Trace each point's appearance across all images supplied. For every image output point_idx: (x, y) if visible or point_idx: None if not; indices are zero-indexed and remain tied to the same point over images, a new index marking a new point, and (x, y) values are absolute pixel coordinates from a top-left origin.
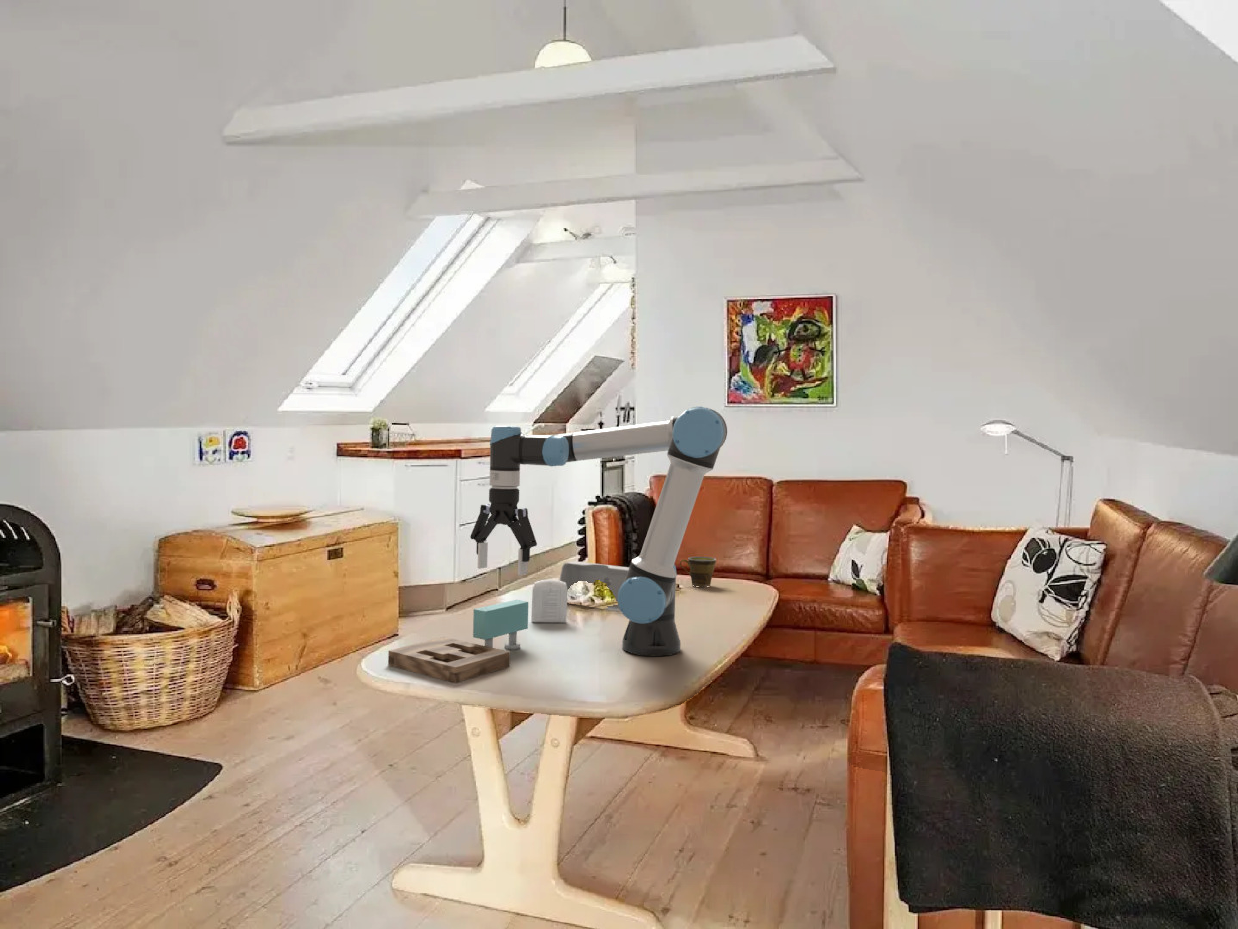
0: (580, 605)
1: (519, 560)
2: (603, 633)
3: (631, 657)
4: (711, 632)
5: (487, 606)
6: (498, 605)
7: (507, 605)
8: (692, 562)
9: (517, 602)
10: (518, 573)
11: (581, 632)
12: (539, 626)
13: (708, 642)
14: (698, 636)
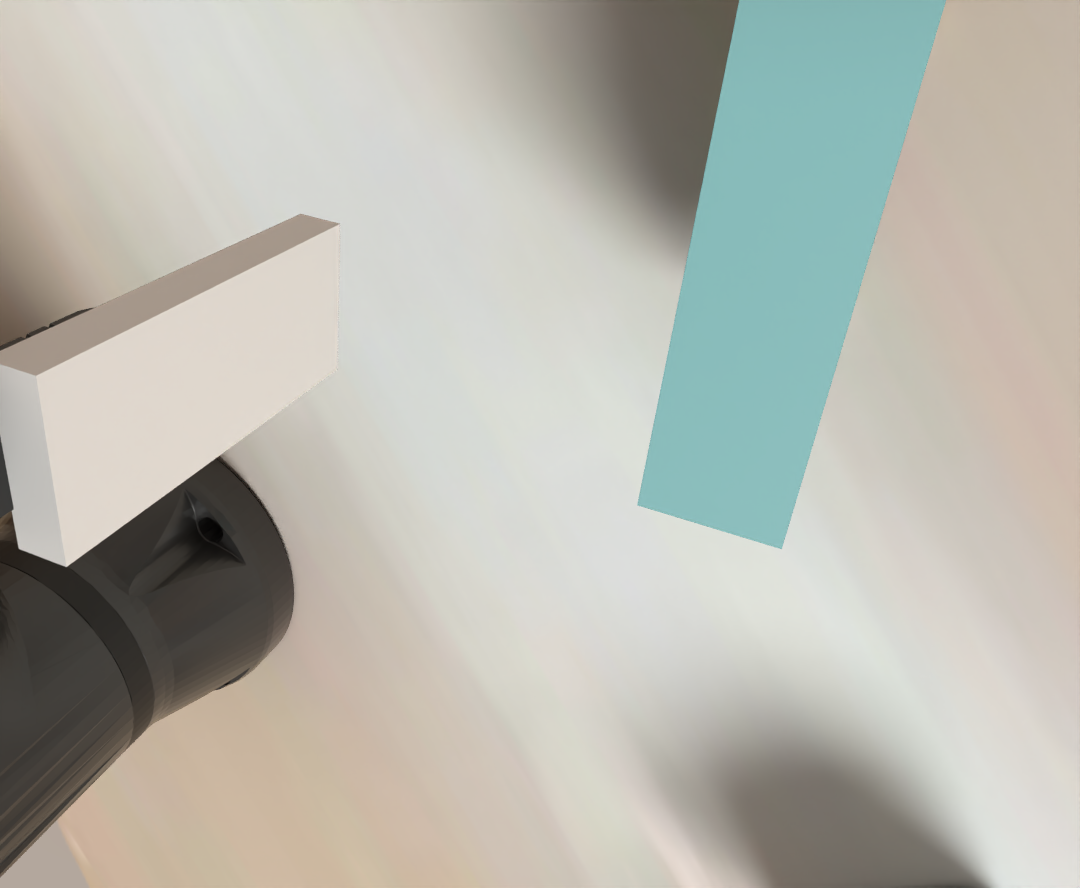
0: None
1: (173, 288)
2: (502, 757)
3: None
4: (171, 861)
5: (898, 103)
6: (807, 220)
7: (721, 268)
8: None
9: (708, 440)
10: (317, 229)
11: (608, 750)
12: (901, 821)
13: None
14: (169, 797)
